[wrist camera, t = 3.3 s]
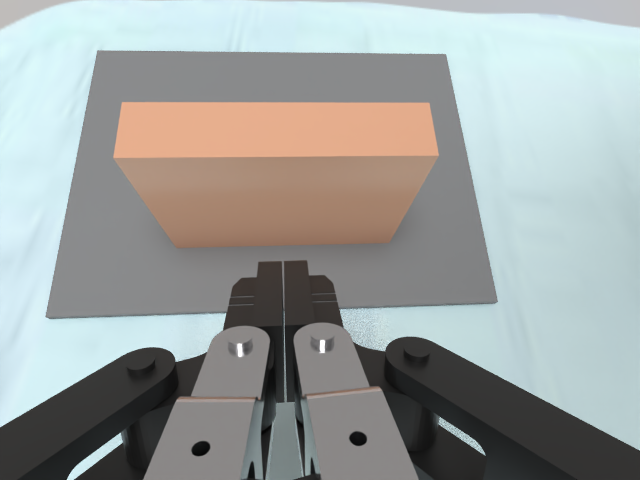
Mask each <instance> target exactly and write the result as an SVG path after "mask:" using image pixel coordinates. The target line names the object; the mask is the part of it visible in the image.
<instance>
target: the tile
mask: <svg viewBox="0 0 640 480" xmlns="http://www.w3.org/2000/svg"><path fill="white" fill-rule="evenodd" d="M438 156H439V153H438V148H437V142H436V137H435V131H434V125H433V120H432V114H431V109H430V103H335V102H122V105H121V111H120V118H119V124H118V131H117V137H116V143H115V150H114V156H113V158H114V160H115V161H116V163H117V164H118V166H119V167H120V168H121V170H122V171H123V173H124V174H125V176H126V177H127V178H128V180H129V181H130V183H131V184H132V186H133V187H134V188H135V190H136V191H137V193H138V194H139V195H140V197H141V198H142V200H143V201H144V203H145V204H146V205H147V207H148V208H149V210H150V211H151V213H152V214H153V215H154V217H155V218H156V220H157V221H158V223H159V224H160V225H161V227H162V228H163V230H164V231H165V232H166V234H167V235H168V237H169V238H170V240H171V241H172V242H173V244H174V245H175V247H176V248H197V247H240V246H283V245H327V244H370V243H389V242H390V241H391V239H392V237H393V235H394V234H395V232H396V230H397V228H398V226H399V225H400V223H401V221H402V219H403V218H404V216H405V214H406V212H407V211H408V209H409V207H410V205H411V204H412V202H413V200H414V198H415V197H416V195H417V193H418V191H419V190H420V188H421V186H422V184H423V183H424V181H425V179H426V177H427V176H428V174H429V172H430V170H431V169H432V167H433V165H434V163H435V162H436V160H437V158H438Z"/></svg>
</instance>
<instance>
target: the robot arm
mask: <svg viewBox="0 0 640 480" xmlns="http://www.w3.org/2000/svg"><path fill="white" fill-rule="evenodd" d="M284 310H285V353H286V386H287V402H295V429H296V437H297V444H298V452H299V460H300V467H301V475H302V477H301V478H298V479H294V480H640V451H639V450H637V449H635V448H634V447H632V446H630V445H628V444H626V443H624V442H622V441H620V440H618V439H616V438H614V437H613V436H611V435H609V434H607V433H605V432H603V431H601V430H599V429H597V428H595V427H594V426H592V425H590V424H588V423H586V422H584V421H582V420H580V419H578V418H576V417H575V416H573V415H571V414H569V413H567V412H565V411H563V410H561V409H559V408H557V407H555V406H554V405H552V404H550V403H548V402H546V401H544V400H542V399H540V398H538V397H536V396H535V395H533V394H531V393H529V392H527V391H525V390H523V389H521V388H519V387H517V386H516V385H514V384H512V383H510V382H508V381H506V380H504V379H502V378H500V377H498V376H497V375H495V374H493V373H491V372H489V371H487V370H485V369H483V368H481V367H479V366H477V365H476V364H474V363H472V362H470V361H468V360H466V359H464V358H462V357H460V356H458V355H457V354H455V353H453V352H451V351H449V350H447V349H445V348H443V347H441V346H439V345H438V344H436V343H434V342H432V341H429V340H427V339H423V338H419V337H402V338H398V339H395V340H393V341H392V342H390V343H389V344H388V346H387V348H386V352H385V351H379V350H373V349H368V348H365V347H362V346H360V345H357V344H356V343H354V342H353V341H352V338H351V336H350V334H349V333H348V332H347V331H346V330H345V329H344V328H343V323H342V319H341V315H340V310H339V306H338V302H337V297H336V294H335V289H334V284H333V282H332V281H331V280H329V279H328V278H327V277H326V276H325V275H309V271H308V263H307V260H295V261H284ZM282 402H284V311H283V278H282V261H263V262H258V269H257V277H249V278H241V279H240V280H239V281H238V282H236V283H235V284H234V285H233V287H232V291H231V296H230V300H229V306H228V309H227V314H226V319H225V323H224V328H223V331H222V332H220V333H219V334H217V335H216V336H215V337H214V338H213V340H212V341H211V344H210V346H209V349H208V352H206V353H204V354H202V355H200V356H197V357H194V358H190V359H186V360H182V361H179V362H175V357H174V355H173V354H172V353H171V352H170V351H168V350H166V349H162V348H156V347H150V348H142V349H138V350H135V351H132V352H129V353H127V354H125V355H123V356H121V357H120V358H118V359H116V360H115V361H113V362H111V363H109V364H108V365H106V366H104V367H103V368H101V369H99V370H98V371H96V372H94V373H92V374H91V375H89V376H87V377H86V378H84V379H82V380H80V381H79V382H77V383H75V384H74V385H72V386H70V387H68V388H67V389H65V390H63V391H62V392H60V393H58V394H57V395H55V396H53V397H51V398H50V399H48V400H46V401H45V402H43V403H41V404H39V405H38V406H36V407H34V408H33V409H31V410H29V411H27V412H26V413H24V414H22V415H21V416H19V417H17V418H16V419H14V420H12V421H10V422H9V423H7V424H5V425H4V426H2V427H0V480H67V478H68V476H69V474H70V473H71V471H72V470H73V469H74V467H75V466H76V465H77V464H79V463H80V462H81V461H82V460H84V459H85V458H86V457H88V456H89V455H90V454H92V453H93V452H95V451H96V450H97V449H99V448H100V447H101V446H103V445H104V444H105V443H107V442H108V441H110V440H111V439H112V438H114V437H115V436H116V435H118V434H119V433H120V432H121V436H122V440H123V443H122V444H121V445H119V446H118V447H117V448H115V449H114V450H113V451H111V452H110V453H109V454H107V455H106V456H105V457H103V458H102V459H101V460H99V461H98V462H97V463H96V464H94V465H93V466H92V467H90V468H89V469H88V470H86V471H85V472H84V473H82V474H81V475H80V476H78V477H77V478H76V479H74V480H268V478H269V469H270V460H271V452H272V443H273V434H274V419H275V416H276V403H282ZM439 416H440V417H441V418H443V419H444V420H446V421H447V422H449V423H450V424H452V425H453V426H455V427H456V428H458V429H459V430H461V431H463V432H464V433H466V434H467V435H469V436H470V437H472V438H473V439H474V440H476V441H477V442H478V443H479V445H480V446H481V447H482V449H483V450H484V452H485V454H486V456H485V455H483V454H482V453H480V452H479V451H477V450H476V449H474V448H473V447H471V446H470V445H468V444H467V443H465V442H464V441H462V440H461V439H459V438H458V437H456V436H455V435H453V434H452V433H450V432H449V431H447V430H446V429H444V428H443V427H441V426H440V425H438V423H439Z"/></svg>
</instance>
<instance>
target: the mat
mask: <svg viewBox="0 0 640 480" xmlns="http://www.w3.org/2000/svg"><path fill="white" fill-rule="evenodd" d="M122 102H335V103H430V109H431V114H432V120H433V125H434V131H435V137H436V142H437V148H438V153H439V156H438V158H437V160H436V162H435V163H434V165H433V167H432V169H431V170H430V172H429V174H428V176H427V177H426V179H425V181H424V183H423V184H422V186H421V188H420V190H419V191H418V193H417V195H416V197H415V198H414V200H413V202H412V204H411V205H410V207H409V209H408V211H407V212H406V214H405V216H404V218H403V219H402V221H401V223H400V225H399V226H398V228H397V230H396V232H395V234H394V235H393V237H392V239H391V241H390V242H389V243H370V244H327V245H283V246H240V247H197V248H176V247H175V245H174V244H173V242H172V241H171V240H170V238H169V237H168V235H167V234H166V232H165V231H164V230H163V228H162V227H161V225H160V224H159V223H158V221H157V220H156V218H155V217H154V215H153V214H152V213H151V211H150V210H149V208H148V207H147V205H146V204H145V203H144V201H143V200H142V198H141V197H140V195H139V194H138V193H137V191H136V190H135V188H134V187H133V186H132V184H131V183H130V181H129V180H128V178H127V177H126V176H125V174H124V173H123V171H122V170H121V168H120V167H119V166H118V164H117V163H116V161H115V160H114V158H113V156H114V150H115V143H116V137H117V131H118V124H119V118H120V111H121V105H122ZM295 260H307V263H308V271H309V275H325V276H326V277H327V278H328V279H329V280H331V281H332V282H333V284H334V289H335V294H336V297H337V302H338V306H339V309H345V308H374V307H403V306H432V305H461V304H490V303H496V302H498V301H497V296H496V291H495V286H494V281H493V277H492V272H491V267H490V262H489V258H488V253H487V248H486V243H485V238H484V234H483V229H482V224H481V219H480V215H479V210H478V205H477V200H476V195H475V191H474V186H473V181H472V176H471V172H470V167H469V162H468V157H467V152H466V148H465V143H464V138H463V133H462V129H461V124H460V119H459V114H458V109H457V105H456V100H455V95H454V90H453V86H452V81H451V76H450V71H449V66H448V62H447V57H446V54H375V53H280V52H185V51H97V55H96V61H95V66H94V71H93V76H92V81H91V86H90V91H89V96H88V102H87V107H86V112H85V117H84V122H83V127H82V132H81V137H80V143H79V148H78V153H77V158H76V163H75V168H74V173H73V179H72V184H71V189H70V194H69V199H68V204H67V209H66V214H65V220H64V225H63V230H62V235H61V240H60V245H59V250H58V256H57V261H56V266H55V271H54V276H53V281H52V286H51V291H50V297H49V302H48V307H47V312H46V317H47V318H49V319H54V318H83V317H112V316H141V315H170V314H199V313H227V309H228V306H229V300H230V296H231V291H232V287H233V285H234V284H235V283H236V282H238V281H239V280H240V279H241V278H249V277H257V269H258V262H263V261H282V278H283V311H285V310H284V261H295Z"/></svg>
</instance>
